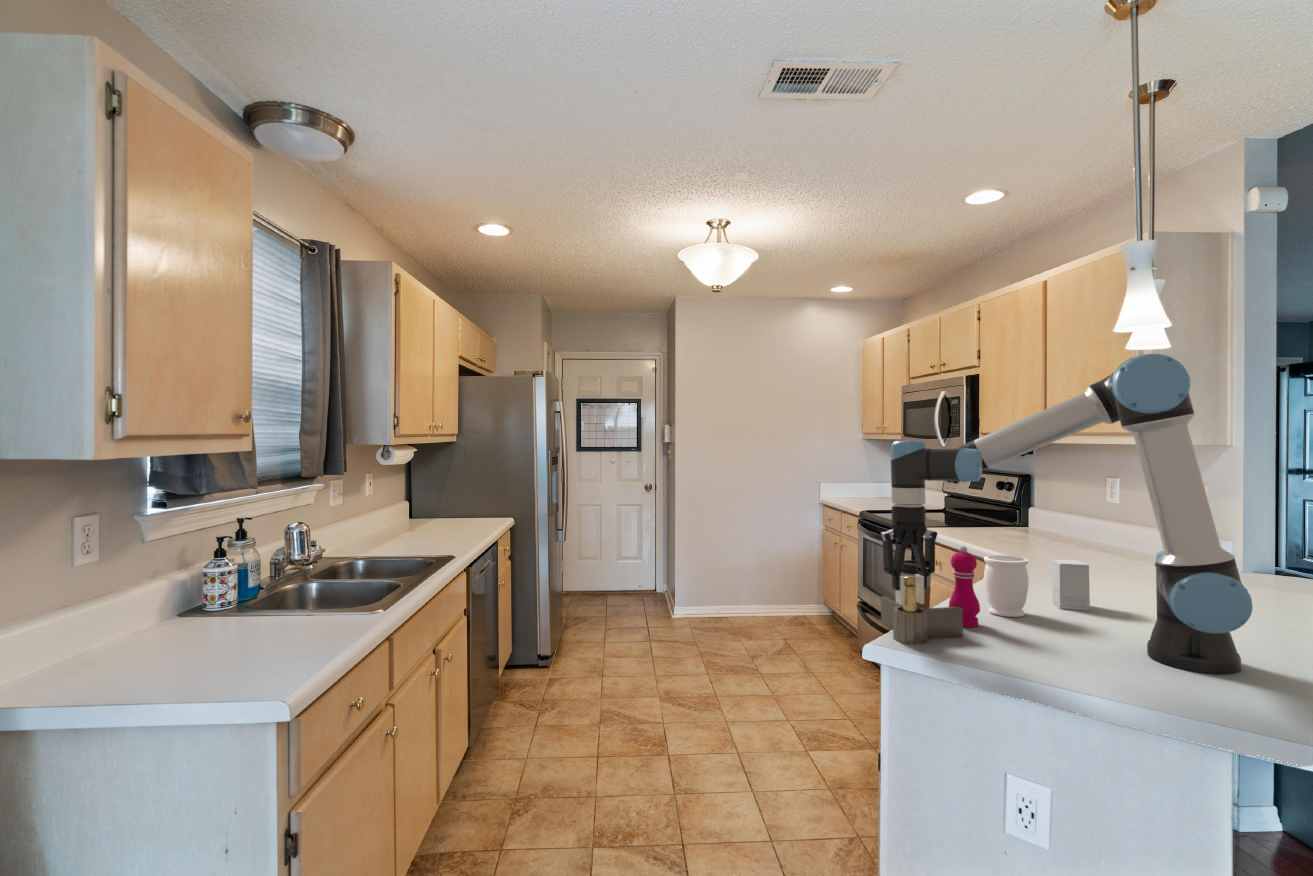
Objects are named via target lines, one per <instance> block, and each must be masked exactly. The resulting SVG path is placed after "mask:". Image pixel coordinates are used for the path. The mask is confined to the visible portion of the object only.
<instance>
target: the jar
mask: <svg viewBox="0 0 1313 876" xmlns="http://www.w3.org/2000/svg"><path fill="white" fill-rule="evenodd" d="M983 561H984V562H985V567H984V573H983V583H984V584H983V585H984V589H985V595H986V598H987V601H988V604H989V605H990V607H989V609H988V612H989V613H990V614H992V615H996V616H999V617H1007V618H1019V617H1023V616H1025V611H1024V610H1023V608H1024V607H1025V605H1026V602H1027V597H1028V592H1029V583H1030V582H1029V573H1028V570H1027V565H1028V564H1029V560H1028V559H1027V558H1026V557H1025V558H1024V557H1020V556H1012V555H1001V554H1000V555H999V554H998V555H995V554H994V555H986V556H984V557H983Z"/></svg>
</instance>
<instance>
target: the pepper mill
mask: <svg viewBox="0 0 1313 876" xmlns="http://www.w3.org/2000/svg"><path fill="white" fill-rule="evenodd" d="M977 563H978V561H977V559H976V557H975V556H974V555H973V554H972V553H970V552H968V548H967V547H966V546H964V545H962V546H960V547H959V552H956V553H954V554H952V556H951V558H950V565H951V567H952V568H953V571H952V572H953V573H952V577H954V580H955V583H954V589H953V591H952V594H951V596H950V598H949V601H948V607H962V608H963V628H975V627H976V628H977V627H978V626H979V617H977V616H978V614H979V613H980V612H981V605H980V602H979V599H978V597H977V595H976V593H975V589H974V585H973V582H974V578H975V572H974V570H975V569H976V568H977V565H978V564H977Z"/></svg>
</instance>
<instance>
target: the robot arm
mask: <svg viewBox="0 0 1313 876" xmlns="http://www.w3.org/2000/svg"><path fill="white" fill-rule="evenodd" d="M1190 378H1191V377H1190V375H1189V372H1188V371H1187V369H1186V367H1185V366H1184V365H1183V364H1182V363H1181V362H1180V361H1178V360H1177V359H1176V358H1173V357H1172V356H1169V355H1165V354H1161V353H1146V354H1139V355H1136V356H1133V357H1130V358H1128V359H1126V360H1125V361H1123V362H1122V363H1121V364H1120V365H1119V366H1118V367H1117V368H1116V369H1115V371H1113V372H1112V373H1111V374H1110V375H1108V376H1106V377H1104V378H1103V379H1101V380H1099V381H1097V382H1095V383H1092V384H1090V385H1087V386H1086V387H1087V388H1086V390H1085V391H1084V392H1083V393H1080V394H1078V395H1076V396H1074V397H1072V398H1069V399H1067V400H1064V401H1062V402H1059V403H1057V404H1054V405H1052V406H1050V407H1048V408H1045V409H1043V410H1040V411H1038V412H1036V413H1034V414H1031V415H1029V416H1027V417H1025V418H1022V419H1019V420H1017V421H1016V422H1013V423H1011V424H1008V425H1006V426H1004V427H1001V428H999V429H997V430H994V431H992V432H990V433H988V434H985V435H983V436H981V437H979V438H976V439H974V440H972V441H969V442H966V443H964V444H962V445H959V446H957V447H954V448H926V446H925V442H924V441H923V440H895V441H894V442H893V443H892V444H891V451H890V477H891V478H890V481H891V485H890V486H891V489H890V490H891V503H892V504H894V505H892V506H891V522H892V523H891V526H890V529H889V530H887V531H881V532H880V533H879V534H880V538H881V541H882V554H883V555H882V556H883V572H884V573H885V574H888V575H891V587H892V589H893V590H895V602H896V603H898V604H900V605H904V577H902V576H901V571H902V566H903V561H904V560H905V557H906V556H905V555H906V551H907V549H908V545H910V546H911V548H912V552H913V556H914V557H913V558H914V560H915V562H916V566H917V570H918V573H919V574H915V577H916V602H918V603H920V604H924V589H926V588H927V577H928V576H929V575H930V573H931V574H934V573H935V571H936V540H937V537H938V532H937V531H934V530H931V529H928V528H927V525H926V524H925V522H926V518H927V517H926V507H925V506H924V505H925V504H926V481H931V482H932V481H935V482H936V481H937V482H938V481H939V482H941V481H942V482H962V483H966V482H968V483H969V482H978V481H980V480H981V479H982V473H983V471H985V470H987V469H990V468H992V467H995V466H997V465H1000V464H1002V463H1005V462H1007V461H1009V460H1013V459H1014V458H1016V457H1019V456H1022V455H1025V454H1028V453H1029V452H1032V451H1034V450H1037V449H1040V448H1042V447H1045V446H1047V445H1050V444H1052V443H1054V442H1057V441H1060V440H1062V439H1064V438H1068V437H1070V436H1071V435H1072V436H1073V435H1075V434H1077V433H1080V432H1082V431H1084V430H1087V429H1089V428H1093V427H1095V426H1097V425H1099V424H1102V423H1103V424H1104V423H1105V424H1108V425H1112V424H1115V423H1117V422H1120V426H1121V429H1123V430H1125V431H1126V432H1129V433H1130V434H1132V436H1133V439H1134V444H1135V447H1136V450H1137V453H1138V458H1139V462H1140V465H1141V469H1142V473H1143V476H1144V480H1145V483H1146V487H1147V492H1148V495H1149V499H1150V503H1151V506H1152V507H1151V508H1152V511H1153V514H1154V518H1155V521H1156V525H1157V529H1158V533H1159V536H1160V540H1161V544H1162V547H1163V550H1161V551H1159V552H1157V554H1156V557H1155V562H1154V567H1155V580H1156V583H1155V585H1156V589H1155V590H1156V622H1155V624H1154V626H1153V628H1152V632H1151V635H1150V637H1149V640H1148V641H1147V643H1146V644H1147V645H1146V650H1147V651H1146V653H1147V656H1148V657H1149V658H1151V659H1153V661H1156V662H1159V663H1161V664H1165V665H1167V666H1170V667H1174V668H1179V669H1182V670H1188V671H1194V672H1198V673H1199V672H1200V673H1207V674H1222V675H1223V674H1224V675H1225V674H1235V673H1238V672H1241V670H1242V658H1241V656H1240V654H1239V653H1238V651H1237V648H1236V645H1235V642H1234V639H1233V636H1232V634H1231V632H1233V631H1236V630H1238V629H1240V628H1241V627H1243V626H1244V625H1245V624H1247V622H1248V621H1249V619H1250V618H1251V616H1252V612H1253V600H1252V597H1251V593H1249V592H1248V589H1247V587H1245V585H1244V584H1243V583H1242V580H1241V579H1242V578H1241V576H1240V573H1239V569H1238V565H1237V562H1236V559H1235V555H1234V554H1232V553H1231V552H1229V551H1227V550H1225V548H1223V547H1222V545H1221V543H1220V540H1219V536H1218V532H1217V529H1216V525H1215V521H1214V518H1213V514H1212V511H1211V507H1210V504H1209V500H1208V496H1207V493H1206V488H1205V484H1204V482H1203V477H1202V474H1201V471H1200V467H1199V464H1198V459H1197V455H1196V453H1195V449H1194V445H1193V442H1192V437H1191V434H1190V431H1189V427H1188V425H1189V423H1190V422H1191V420H1192V419H1193V418H1194V417H1195V410H1194V408H1193V407H1194V406H1193V403H1192V400H1191V396H1190V393H1189V392H1190V388H1191V379H1190ZM894 538H895V543H894V544H893V540H894ZM923 538H924V545H923V540H922V539H923ZM894 546H895V549H894ZM923 547H924V549H923Z"/></svg>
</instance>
